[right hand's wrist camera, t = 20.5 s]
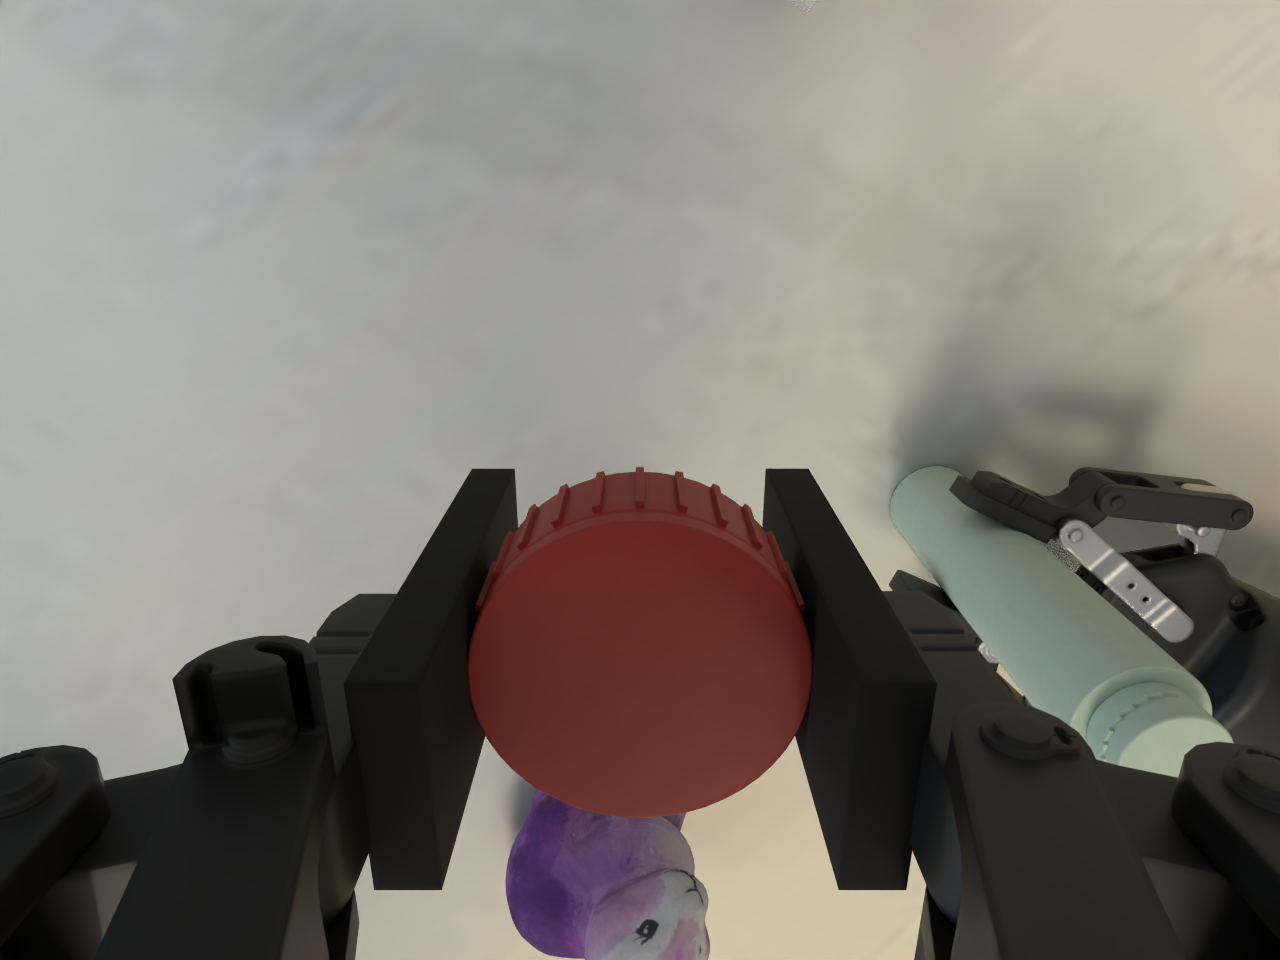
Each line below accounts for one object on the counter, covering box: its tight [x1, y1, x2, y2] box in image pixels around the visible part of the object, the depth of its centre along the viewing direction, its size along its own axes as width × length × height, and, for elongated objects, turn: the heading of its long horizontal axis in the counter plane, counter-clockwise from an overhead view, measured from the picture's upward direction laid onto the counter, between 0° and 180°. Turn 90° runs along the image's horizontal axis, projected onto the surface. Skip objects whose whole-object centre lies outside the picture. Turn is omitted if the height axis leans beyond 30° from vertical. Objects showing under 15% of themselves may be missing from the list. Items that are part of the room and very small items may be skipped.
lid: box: [467, 467, 813, 818], centre depth 11 cm, size 5×5×2 cm
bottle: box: [890, 466, 1234, 777], centre depth 30 cm, size 4×4×19 cm
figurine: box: [506, 789, 710, 960], centre depth 38 cm, size 9×10×15 cm
